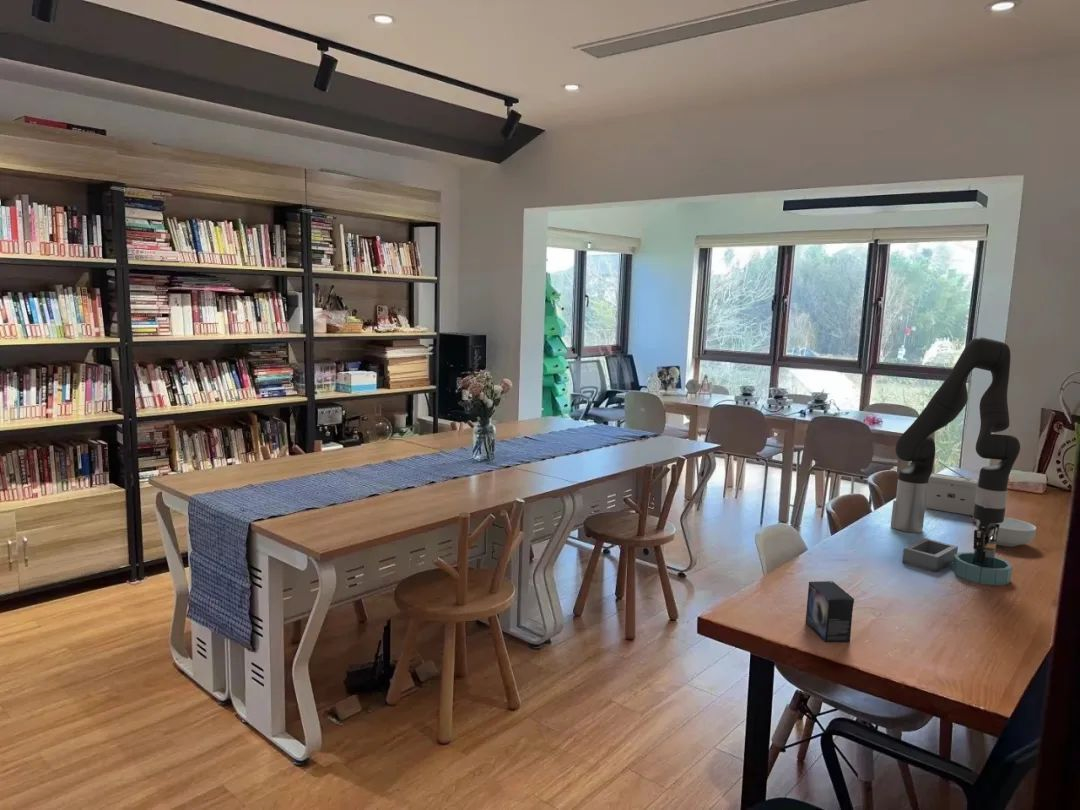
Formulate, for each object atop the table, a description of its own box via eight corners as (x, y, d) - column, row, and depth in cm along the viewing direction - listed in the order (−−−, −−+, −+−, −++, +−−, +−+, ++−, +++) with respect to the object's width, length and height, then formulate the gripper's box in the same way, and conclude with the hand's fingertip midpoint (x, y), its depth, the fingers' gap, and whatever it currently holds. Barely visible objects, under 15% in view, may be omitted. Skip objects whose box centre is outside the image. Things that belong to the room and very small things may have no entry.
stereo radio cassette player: (984, 514, 278) (991, 462, 275) (983, 519, 272) (990, 466, 269) (922, 504, 289) (928, 454, 287) (920, 508, 283) (926, 457, 280)
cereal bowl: (1043, 553, 234) (1046, 532, 233) (985, 548, 238) (988, 527, 237) (1020, 537, 251) (1023, 517, 250) (966, 532, 254) (969, 512, 253)
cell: (969, 564, 212) (973, 538, 211) (975, 561, 216) (979, 534, 214) (989, 570, 208) (993, 543, 207) (995, 566, 212) (999, 539, 211)
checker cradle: (902, 562, 221) (903, 548, 220) (923, 551, 232) (925, 538, 231) (936, 572, 214) (937, 557, 213) (956, 560, 225) (958, 546, 224)
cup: (945, 573, 213) (947, 558, 212) (963, 563, 222) (964, 549, 222) (1000, 589, 203) (1002, 573, 202) (1016, 577, 212) (1018, 562, 211)
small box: (803, 622, 177) (807, 580, 175) (829, 622, 177) (833, 580, 176) (823, 642, 166) (827, 598, 165) (851, 642, 167) (855, 598, 165)
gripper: (984, 497, 217) (977, 552, 219) (966, 504, 207) (959, 562, 210) (1013, 502, 211) (1005, 559, 214) (996, 511, 202) (988, 570, 204)
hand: (982, 560), depth 212 cm, fingers closed on cell, 5 cm apart
